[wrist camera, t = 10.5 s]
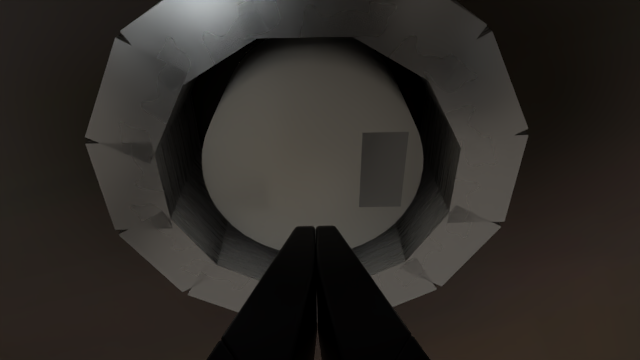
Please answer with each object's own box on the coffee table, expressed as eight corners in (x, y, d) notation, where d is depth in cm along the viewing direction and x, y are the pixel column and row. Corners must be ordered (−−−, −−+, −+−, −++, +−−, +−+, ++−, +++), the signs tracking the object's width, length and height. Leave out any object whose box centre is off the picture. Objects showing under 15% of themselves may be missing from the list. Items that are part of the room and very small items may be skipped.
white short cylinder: (234, 191, 17) (217, 256, 14) (211, 28, 13) (183, 67, 10) (393, 189, 17) (411, 252, 14) (409, 25, 13) (437, 63, 10)
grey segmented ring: (178, 243, 18) (148, 325, 14) (102, -62, 12) (20, -43, 8) (446, 237, 18) (477, 318, 15) (504, -68, 12) (580, -51, 9)
